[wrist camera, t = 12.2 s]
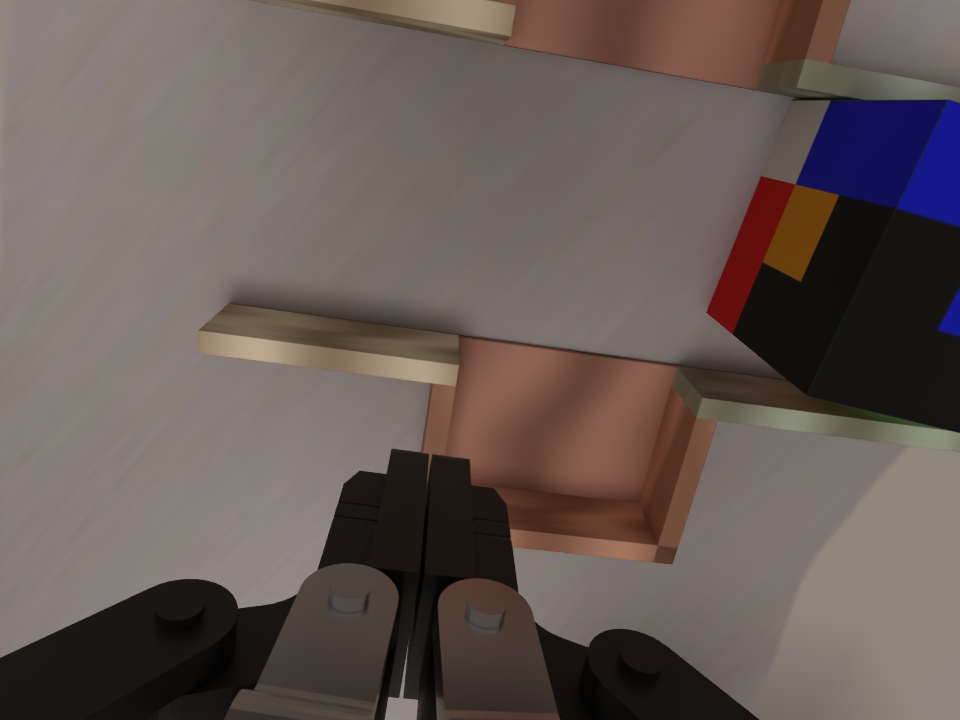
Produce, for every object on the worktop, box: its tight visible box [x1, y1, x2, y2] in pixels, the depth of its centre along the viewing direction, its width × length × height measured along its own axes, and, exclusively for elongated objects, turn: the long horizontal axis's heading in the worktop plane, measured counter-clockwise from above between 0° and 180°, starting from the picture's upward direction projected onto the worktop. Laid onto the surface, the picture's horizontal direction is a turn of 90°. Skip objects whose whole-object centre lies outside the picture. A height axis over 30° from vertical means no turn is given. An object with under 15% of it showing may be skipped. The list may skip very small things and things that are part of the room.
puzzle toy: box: [707, 99, 960, 433], centre depth 27 cm, size 10×10×10 cm
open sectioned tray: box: [198, 0, 960, 564], centre depth 29 cm, size 38×31×4 cm
